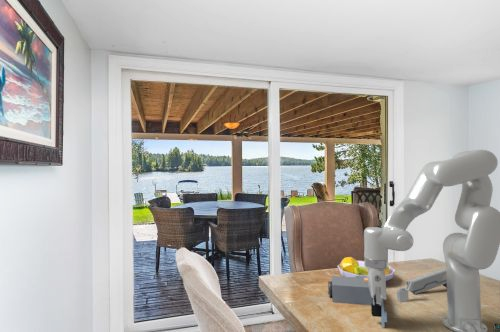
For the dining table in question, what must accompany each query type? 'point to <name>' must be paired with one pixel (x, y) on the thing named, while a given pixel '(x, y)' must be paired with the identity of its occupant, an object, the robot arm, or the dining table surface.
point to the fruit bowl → (359, 269)
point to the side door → (383, 313)
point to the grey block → (349, 290)
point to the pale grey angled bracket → (404, 292)
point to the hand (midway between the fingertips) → (376, 315)
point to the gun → (429, 281)
